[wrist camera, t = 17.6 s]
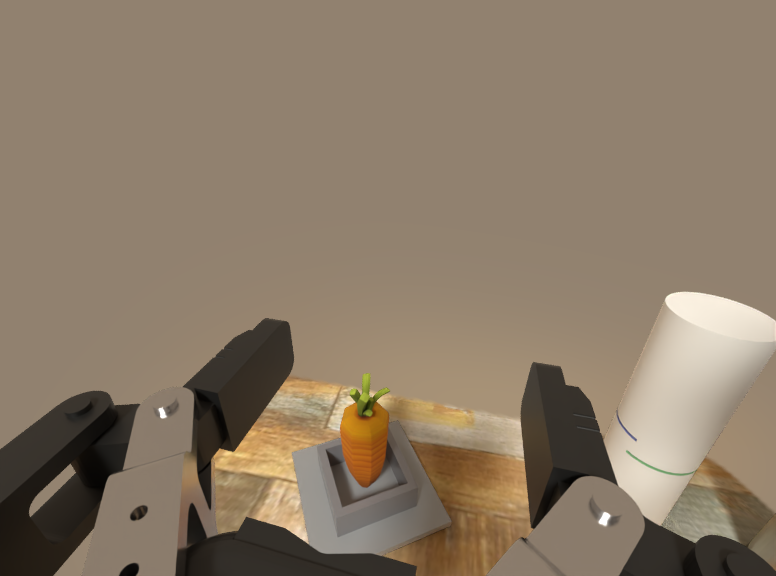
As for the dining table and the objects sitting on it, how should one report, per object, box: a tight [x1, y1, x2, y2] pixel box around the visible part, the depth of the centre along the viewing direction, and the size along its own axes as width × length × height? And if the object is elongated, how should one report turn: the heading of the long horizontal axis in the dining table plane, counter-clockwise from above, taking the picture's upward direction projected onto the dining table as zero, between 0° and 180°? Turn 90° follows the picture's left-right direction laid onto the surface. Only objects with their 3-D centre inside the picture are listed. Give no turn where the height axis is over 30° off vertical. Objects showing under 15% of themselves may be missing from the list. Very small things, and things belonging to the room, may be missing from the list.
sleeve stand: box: [292, 420, 452, 556], centre depth 40 cm, size 14×14×4 cm
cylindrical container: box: [603, 292, 776, 526], centre depth 34 cm, size 7×7×25 cm
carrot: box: [340, 373, 390, 488], centre depth 37 cm, size 5×5×15 cm
